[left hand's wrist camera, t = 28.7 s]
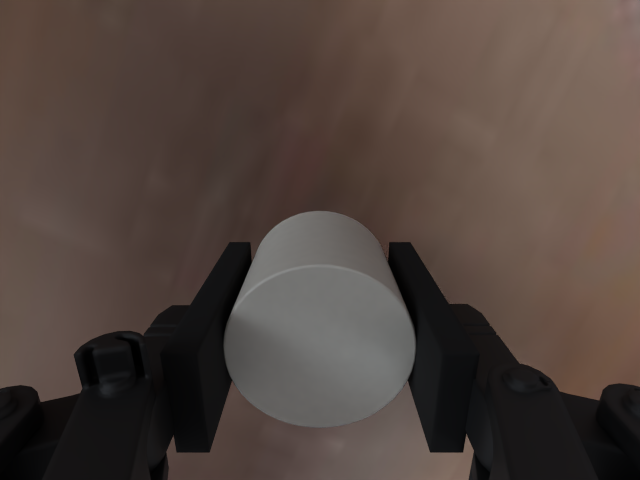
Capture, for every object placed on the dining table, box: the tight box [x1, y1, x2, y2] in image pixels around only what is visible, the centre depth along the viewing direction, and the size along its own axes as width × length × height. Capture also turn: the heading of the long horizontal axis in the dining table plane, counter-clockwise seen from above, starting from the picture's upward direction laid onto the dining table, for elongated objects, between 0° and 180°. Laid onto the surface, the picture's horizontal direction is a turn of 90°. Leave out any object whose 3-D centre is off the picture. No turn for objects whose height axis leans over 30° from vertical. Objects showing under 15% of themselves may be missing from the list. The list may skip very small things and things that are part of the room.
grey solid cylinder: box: [223, 211, 416, 428], centre depth 12 cm, size 5×5×5 cm
